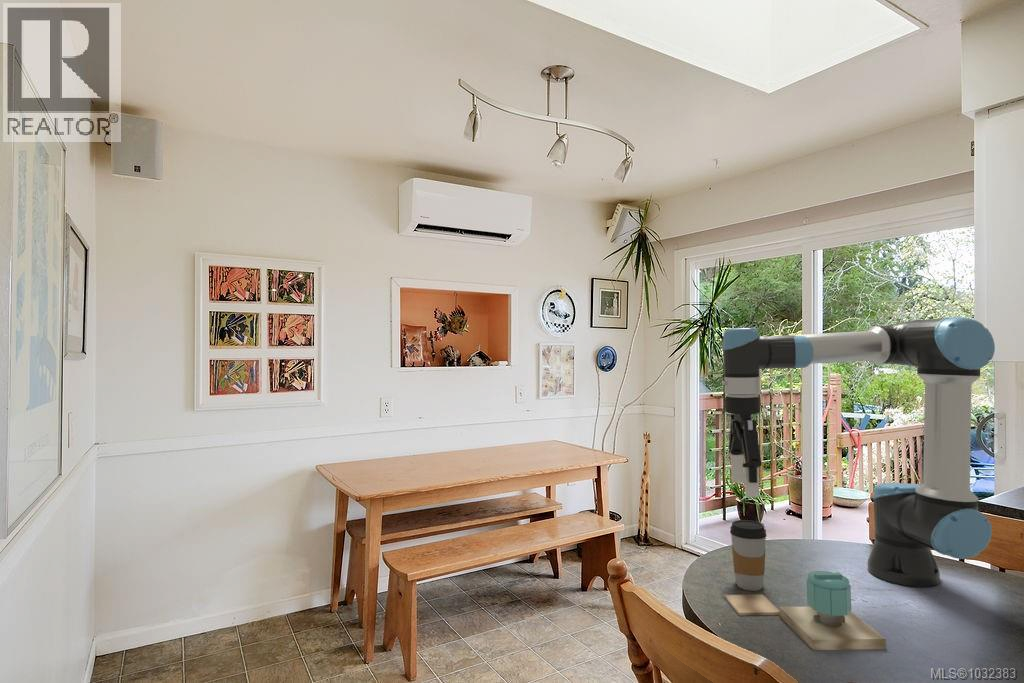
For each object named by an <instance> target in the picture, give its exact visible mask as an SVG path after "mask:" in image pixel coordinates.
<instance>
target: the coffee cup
mask: <svg viewBox="0 0 1024 683" xmlns="http://www.w3.org/2000/svg"><path fill="white" fill-rule="evenodd" d="M729 532H730V535H731V536H730V538H731V549H732V550H731V551H732V561H733V563H732V564H733V572H734V580H735V583H736V585H737V587H738V588H740V589H742V590H746V591H760V590H762V588H763V586H764V582H765V578H764V577H765V570H766V569H765V566H766V543H767V542H766V540H767V538H766V537H767V530H766V528H765V525H764V524H763V523H761V522H759V521H757V520H756V521H754V520H748V519H739V520H734V521H732V523H731V525H730V531H729Z"/></svg>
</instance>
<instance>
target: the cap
mask: <svg viewBox="0 0 1024 683" xmlns="http://www.w3.org/2000/svg"><path fill="white" fill-rule="evenodd" d="M851 587H852V586H851V584H850V579H848V577H846V576H844V575H843V574H842V573H840V572H833V571H827V570H813V571H810V572H808V573H807V579H806V604H807V605H808V606H810V607H811V608H812V609H813V610H814V611H817V612H821V613H824V614H827V615H832V616H846V615H848V614H849V612H850V611H851V612H852V590H851V589H852V588H851Z"/></svg>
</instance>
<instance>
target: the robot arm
mask: <svg viewBox="0 0 1024 683" xmlns="http://www.w3.org/2000/svg"><path fill="white" fill-rule="evenodd" d="M758 330H759V329H757V328H756V327H735V328H727V329H725V330H724V332H723V337H722V352H723V353H722V354H723V377H724V379H723V380H724V381H723V380H722V381H721V385H722V386H724V394H725V395H727V396H725V397H724V412H725V413H726V414H730V416H729V417H730V426H729V437H728V439H729V440H728V446H727V447H728V450H729V453H730V463H731V464H730V466H731V467H730V468H731V470H730V475H731V482H732V483H733V484H734V483H738V484H739V483H741V484H744V497H745V498H756V499H758V498H759V499H760V476H759V475H760V474H759V471H760V470H759V469H760V467H762V464H763V463H762V460H761V459H762V458H761V453H760V444H759V440H758V431H757V420H756V419H755V420H753V419H752V415H758V414H760V413H761V398H760V396H759V395H760V394H761V378H760V370H768V369H769V370H771V369H773V370H774V369H775V370H783V369H794V370H796V369H802V368H803V369H804V368H807V367H809V366H810V365H812V364H813V365H814V364H830V363H831V364H832V363H835V364H836V363H849V362H850V363H851V362H864V361H865V362H867V361H868V362H869V361H870V362H871V363H873V364H876V365H884V364H885V365H888V364H890V365H901V366H909V367H917V368H916V369H917V370H916V374H917V376H918V377H919V378H920V379H921V380H922V381H923V382H924V409H923V410H924V414H923V416H924V419H923V421H924V422H923V426H924V427H923V475H922V476H923V477H922V478H923V479H922V484H919V483H905V482H904V483H903V482H886V483H885V482H884V483H879V484H877V485H875V486H874V489H873V497H872V500H873V517H874V518H873V519H874V520H873V523H874V542H873V545H872V548H871V551H870V553H869V557H868V559H867V571H868V572H869V573H870V574H871V575H873V576H875V577H876V578H879V579H881V580H883V581H887V582H890V583H893V584H897V585H903V586H908V587H920V588H926V587H927V588H928V587H935V586H937V585H939V584H940V583H941V574H940V569H939V567H938V565H937V562H936V559H935V558H934V554H933V552H932V550H933V551H934V552H936V553H938V554H940V555H944V556H949V557H951V558H954V559H958V560H959V559H960V560H966V559H967V560H968V559H971V558H975V557H977V556H978V555H980V553H981V552H982V551H985V550H986V548H987V547H988V546H989V544H990V542H991V539H992V534H993V529H992V528H993V527H992V524H991V521H990V520H989V519H988V518H987V516H986V515H985V514H984V513H982V512H981V510H979V498H978V496H977V495H975V494H974V492H972V490H971V446H972V445H971V442H972V441H971V437H972V432H971V431H972V385H973V384H974V383H975V382H977V381H978V380H979V379H980V378H981V369H982V368H984V367H986V366H987V365H988V364H989V363H990V361H991V360H993V358H994V356H995V355H994V354H995V351H996V350H995V349H996V347H995V341H994V338H993V335H992V333H991V331H990V330H989V329H988V328H987V327H985V326H984V324H983V323H981V322H980V321H978V320H976V319H973V318H971V317H958V316H957V317H956V316H952V317H951V316H950V317H940V318H939V317H938V318H932V319H931V318H930V319H915V320H909V321H904V322H897V323H894V324H887V325H881V326H880V325H877V326H872V327H870V328H869V329H868V330H862V331H842V332H823V333H809V334H807V333H806V334H790V335H771V336H770V335H769V336H768V335H767V336H763V335H760V334H759V331H758Z"/></svg>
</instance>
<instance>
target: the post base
mask: <svg viewBox="0 0 1024 683" xmlns="http://www.w3.org/2000/svg"><path fill="white" fill-rule="evenodd" d="M778 610H779V615H778V616H779V617H780V618H781V619H782V620H783V621H784V622H785V623H786V624H787V625H788V626H789V627H790V628H791V629H792V630H793V631H794V632H795V634H797V636H798V637H800V638H801V640H802V641H804V643H806V645H807V646H808V647H809V648H811V649H812V651H839V650H840V651H843V650H844V651H846V650H848V651H849V650H850V651H851V650H852V651H854V650H856V651H857V650H887V639H886V638H885V637H884V636H883V635H882V634H881V633H879V632H878V631H877V630H875V629H874V628H873V627H872V626H870V625H869V624H868V623H867V622H865V621H863V620H862V619H861V618H860V617H859V616H857V614H855V613H853V612H852V610H851V611H850V612H849V614H848V615H846V616H832V615H827V614H824V613H821V612H817V611H814V610H813V609H812V608H811V607H810V606H809V605H808V606H779V607H778Z"/></svg>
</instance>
